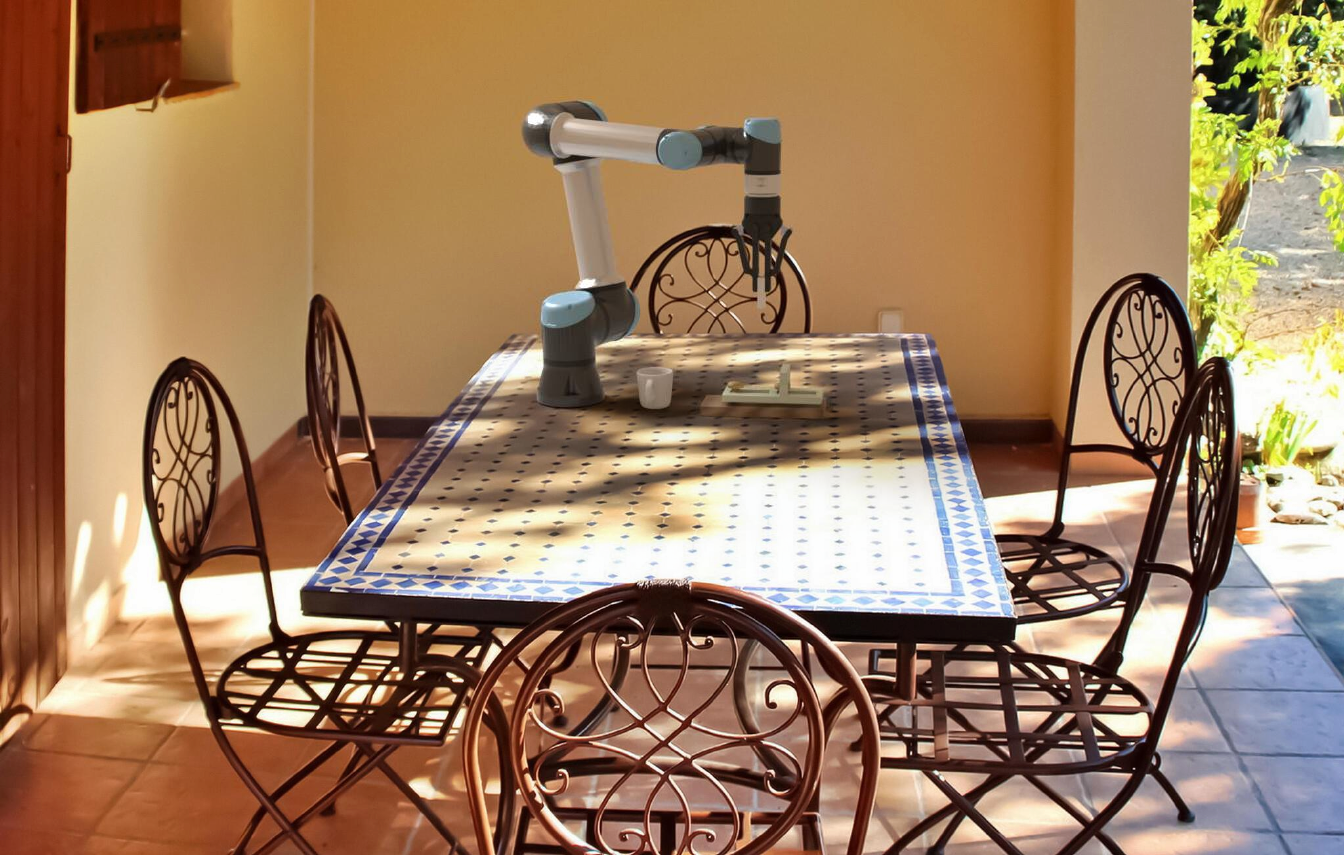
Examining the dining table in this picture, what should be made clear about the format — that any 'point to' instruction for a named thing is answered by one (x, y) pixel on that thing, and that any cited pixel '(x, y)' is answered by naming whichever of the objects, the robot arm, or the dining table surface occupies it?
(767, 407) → the rail
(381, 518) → the dining table surface
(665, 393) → the cup
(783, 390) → the panel
